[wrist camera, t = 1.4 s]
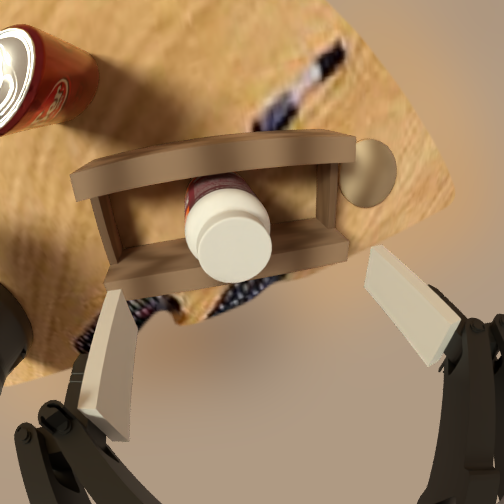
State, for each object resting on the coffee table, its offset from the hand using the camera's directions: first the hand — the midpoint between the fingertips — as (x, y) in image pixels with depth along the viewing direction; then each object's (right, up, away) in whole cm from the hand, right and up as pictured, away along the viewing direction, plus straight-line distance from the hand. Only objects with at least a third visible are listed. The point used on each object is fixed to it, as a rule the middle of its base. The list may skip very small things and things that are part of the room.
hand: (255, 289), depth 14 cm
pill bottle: (-4, +7, +13) cm, 15 cm away
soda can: (-17, +17, +4) cm, 25 cm away
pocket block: (-4, +7, +13) cm, 15 cm away
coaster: (+13, +11, +15) cm, 22 cm away
